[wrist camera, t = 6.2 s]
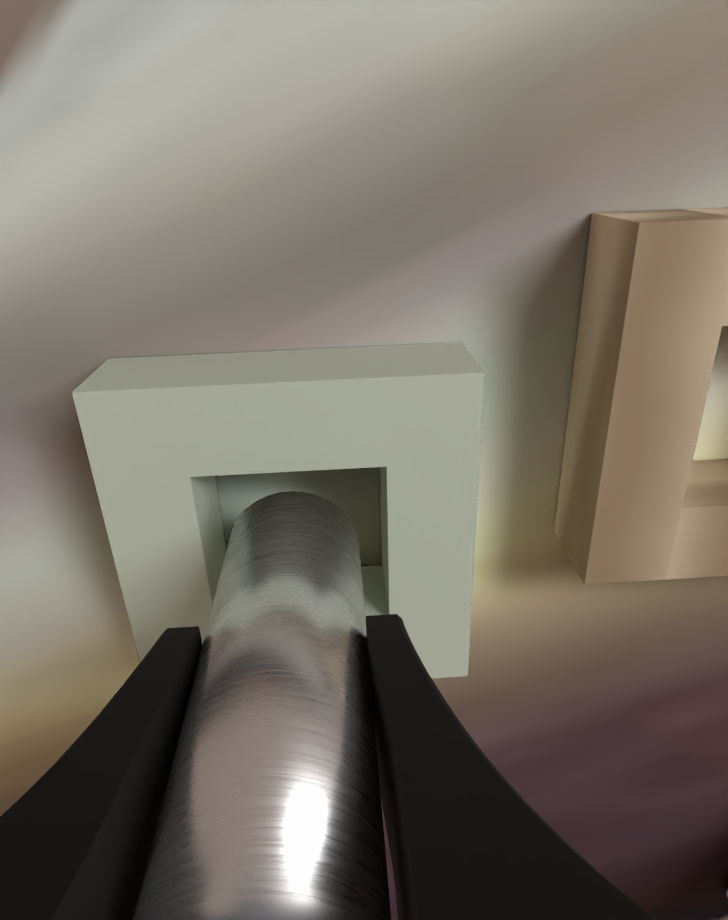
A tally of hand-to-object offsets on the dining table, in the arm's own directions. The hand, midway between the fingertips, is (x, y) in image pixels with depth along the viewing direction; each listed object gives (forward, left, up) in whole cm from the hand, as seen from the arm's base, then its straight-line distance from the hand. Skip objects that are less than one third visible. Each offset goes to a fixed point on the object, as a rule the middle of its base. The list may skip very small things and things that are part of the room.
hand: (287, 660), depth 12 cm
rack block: (0, 0, -6) cm, 6 cm away
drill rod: (0, 0, -4) cm, 4 cm away
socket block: (-12, -3, -6) cm, 14 cm away
